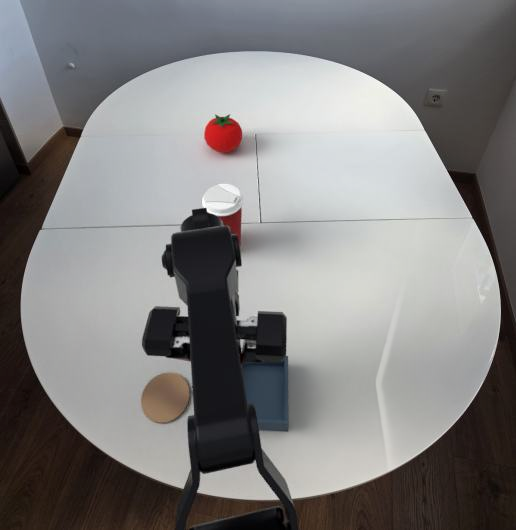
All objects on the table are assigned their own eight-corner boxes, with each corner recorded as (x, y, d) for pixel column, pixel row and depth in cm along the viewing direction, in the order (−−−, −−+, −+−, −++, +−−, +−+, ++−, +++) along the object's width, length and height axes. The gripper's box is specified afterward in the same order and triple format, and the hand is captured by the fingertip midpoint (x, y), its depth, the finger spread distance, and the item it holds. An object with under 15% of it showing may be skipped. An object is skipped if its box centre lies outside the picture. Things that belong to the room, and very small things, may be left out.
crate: (287, 431, 68) (288, 424, 66) (220, 428, 68) (218, 420, 66) (287, 364, 76) (288, 355, 73) (226, 362, 76) (225, 353, 74)
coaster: (185, 424, 69) (185, 423, 69) (136, 422, 69) (135, 421, 69) (193, 374, 75) (192, 373, 74) (147, 372, 75) (147, 371, 75)
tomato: (217, 133, 125) (214, 103, 119) (249, 142, 122) (248, 112, 115) (198, 153, 119) (194, 124, 112) (232, 164, 115) (230, 134, 108)
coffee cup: (251, 235, 97) (249, 187, 87) (236, 263, 92) (233, 215, 81) (217, 225, 99) (211, 177, 89) (201, 252, 94) (193, 204, 84)
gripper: (288, 253, 58) (284, 314, 69) (151, 248, 59) (169, 308, 69) (288, 331, 50) (283, 385, 60) (129, 323, 51) (153, 378, 61)
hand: (220, 360), depth 63 cm, fingers closed on can, 6 cm apart
